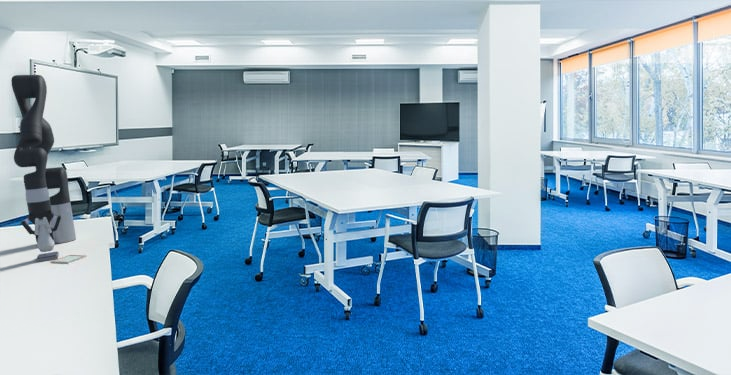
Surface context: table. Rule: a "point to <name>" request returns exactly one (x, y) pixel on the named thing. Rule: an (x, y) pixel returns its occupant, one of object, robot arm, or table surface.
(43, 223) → the salt shaker
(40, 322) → the table surface
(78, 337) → the table surface
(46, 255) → the ink pad
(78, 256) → the marked square
